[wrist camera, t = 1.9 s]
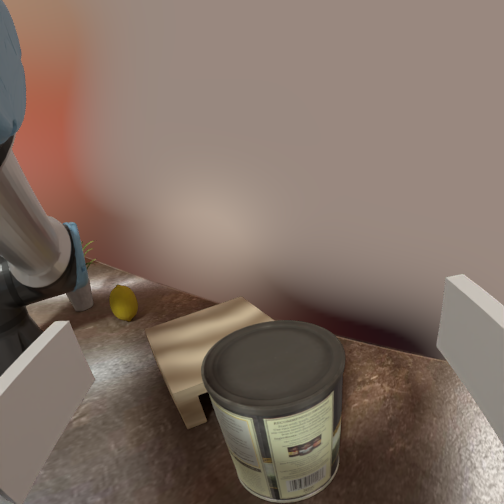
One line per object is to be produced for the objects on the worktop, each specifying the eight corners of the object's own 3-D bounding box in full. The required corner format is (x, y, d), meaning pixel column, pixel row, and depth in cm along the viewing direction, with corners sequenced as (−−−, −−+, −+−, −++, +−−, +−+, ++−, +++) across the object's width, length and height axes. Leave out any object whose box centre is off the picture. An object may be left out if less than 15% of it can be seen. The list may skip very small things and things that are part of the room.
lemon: (137, 327, 57) (125, 289, 54) (113, 328, 57) (100, 292, 54) (145, 313, 62) (135, 277, 59) (122, 315, 62) (111, 280, 60)
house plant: (125, 296, 72) (107, 230, 67) (86, 323, 60) (61, 251, 55) (90, 291, 77) (73, 233, 72) (53, 315, 65) (32, 252, 60)
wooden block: (155, 361, 46) (144, 329, 44) (247, 328, 52) (241, 296, 50) (187, 429, 32) (172, 393, 30) (303, 377, 38) (300, 340, 36)
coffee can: (282, 412, 33) (268, 307, 29) (359, 450, 26) (371, 340, 21) (214, 466, 26) (173, 364, 22) (291, 522, 19) (276, 434, 15)
